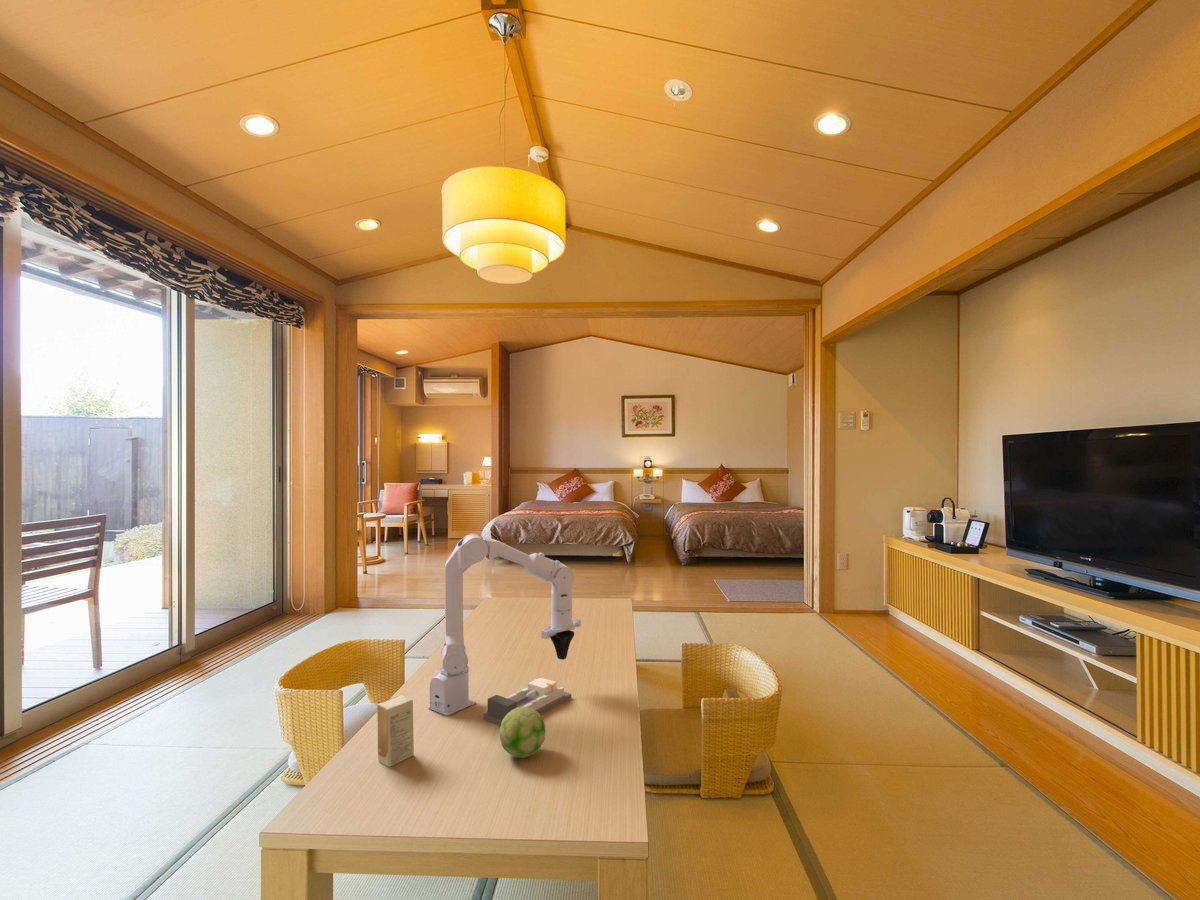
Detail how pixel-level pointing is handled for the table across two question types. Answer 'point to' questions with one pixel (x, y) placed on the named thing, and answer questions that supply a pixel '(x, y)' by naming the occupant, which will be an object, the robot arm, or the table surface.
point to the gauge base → (523, 703)
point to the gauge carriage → (540, 688)
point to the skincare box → (395, 730)
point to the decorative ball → (522, 732)
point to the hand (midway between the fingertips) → (561, 658)
